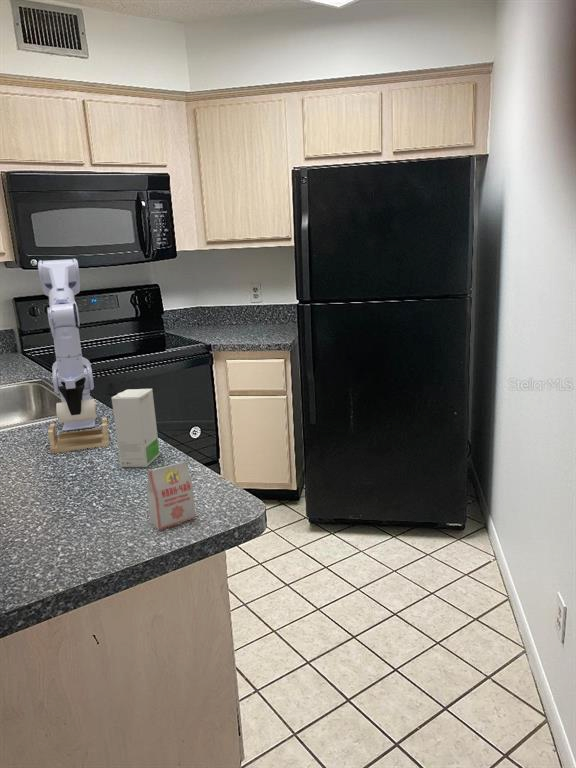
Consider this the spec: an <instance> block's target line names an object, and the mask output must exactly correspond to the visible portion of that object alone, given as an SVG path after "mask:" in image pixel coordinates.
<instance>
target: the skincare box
mask: <svg viewBox="0 0 576 768" xmlns="http://www.w3.org/2000/svg"><path fill="white" fill-rule="evenodd" d="M154 402H155V401H154V392H153V388H138V389H136V388H135V389H134V388H133V389H131V388H130V389H125V390H124V391H121V392H118V393H117V394H116V395H113V396H111V405H112V411H113V420H114V421H113V422H114V427H115V428H114V429H115V435H116V443H117V452H118V460H119V467H120V468H147V467H149V465H151V464H152V463H153V462H154V461H155V460H156V459H157V458H158V457H159V456H161V455H160V445H159V437H158V429H157V428H158V427H157V419H156V412H155V411H156V410H155V403H154Z"/></svg>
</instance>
